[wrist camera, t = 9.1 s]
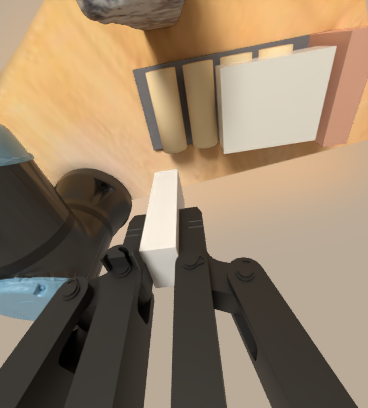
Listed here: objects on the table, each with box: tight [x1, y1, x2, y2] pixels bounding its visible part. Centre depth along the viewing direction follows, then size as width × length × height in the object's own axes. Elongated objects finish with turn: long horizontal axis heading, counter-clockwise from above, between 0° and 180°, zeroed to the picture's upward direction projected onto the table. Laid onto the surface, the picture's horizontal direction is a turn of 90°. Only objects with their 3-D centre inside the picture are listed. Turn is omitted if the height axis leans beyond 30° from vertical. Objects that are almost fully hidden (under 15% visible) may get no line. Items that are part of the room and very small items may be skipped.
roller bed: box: [133, 30, 331, 154], centre depth 30 cm, size 27×12×5 cm, turn 99°
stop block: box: [308, 26, 368, 147], centre depth 27 cm, size 3×12×9 cm, turn 9°
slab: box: [215, 46, 337, 154], centre depth 26 cm, size 12×10×4 cm
